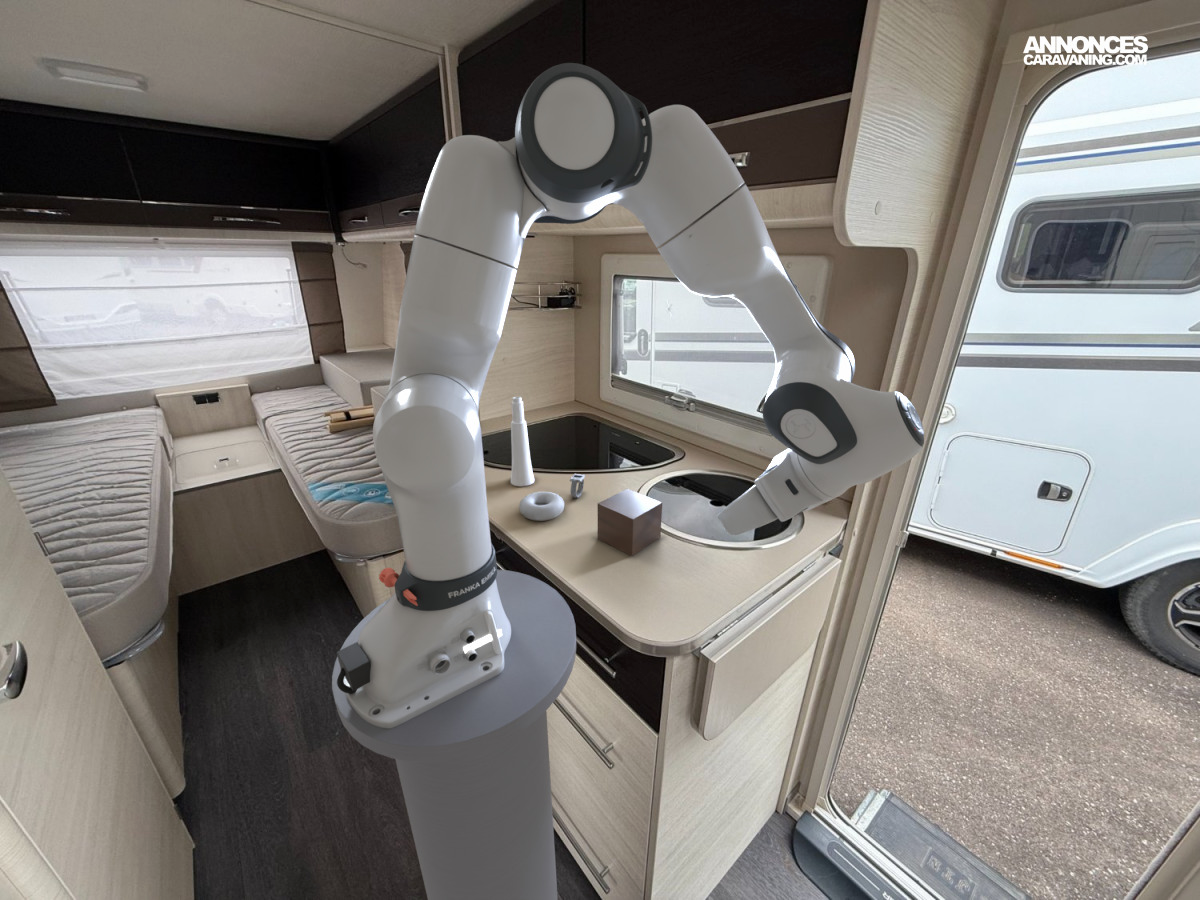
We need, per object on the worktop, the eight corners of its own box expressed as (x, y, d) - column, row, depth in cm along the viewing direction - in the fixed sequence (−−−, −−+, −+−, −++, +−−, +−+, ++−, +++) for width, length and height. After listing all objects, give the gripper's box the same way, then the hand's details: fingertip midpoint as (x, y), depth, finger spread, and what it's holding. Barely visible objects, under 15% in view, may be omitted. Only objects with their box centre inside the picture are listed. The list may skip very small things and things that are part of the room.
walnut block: (632, 556, 88) (633, 519, 85) (597, 538, 94) (597, 503, 91) (660, 537, 94) (662, 502, 91) (626, 522, 100) (627, 488, 97)
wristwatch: (579, 502, 108) (578, 483, 107) (567, 501, 109) (567, 481, 107) (587, 491, 114) (586, 472, 112) (576, 489, 115) (576, 471, 113)
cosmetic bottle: (535, 476, 122) (531, 394, 114) (533, 486, 116) (527, 401, 108) (512, 476, 122) (506, 394, 114) (508, 486, 116) (501, 401, 108)
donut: (558, 526, 99) (569, 503, 108) (558, 511, 97) (568, 490, 107) (513, 522, 100) (527, 500, 109) (512, 508, 99) (526, 486, 108)
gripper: (816, 440, 73) (750, 478, 83) (756, 480, 59) (686, 521, 69) (841, 474, 72) (771, 509, 82) (785, 523, 58) (710, 558, 68)
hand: (732, 515), depth 75 cm, fingers closed
